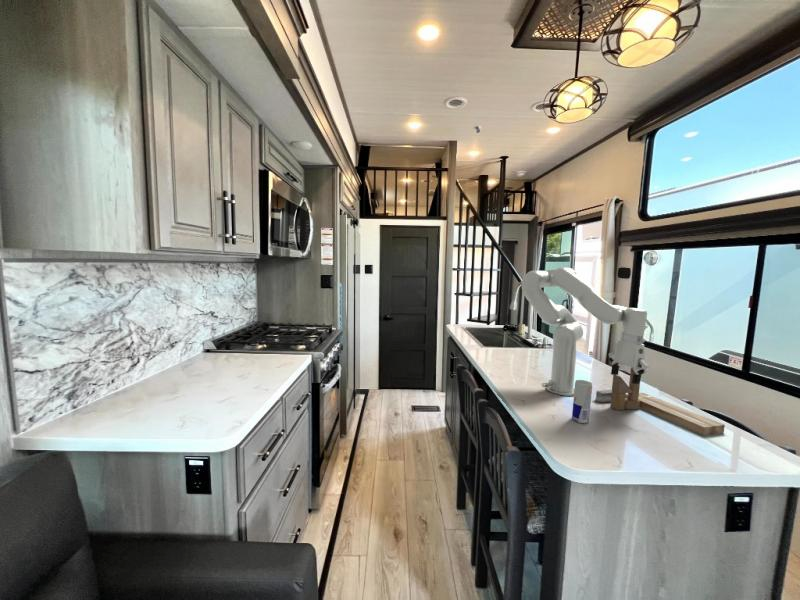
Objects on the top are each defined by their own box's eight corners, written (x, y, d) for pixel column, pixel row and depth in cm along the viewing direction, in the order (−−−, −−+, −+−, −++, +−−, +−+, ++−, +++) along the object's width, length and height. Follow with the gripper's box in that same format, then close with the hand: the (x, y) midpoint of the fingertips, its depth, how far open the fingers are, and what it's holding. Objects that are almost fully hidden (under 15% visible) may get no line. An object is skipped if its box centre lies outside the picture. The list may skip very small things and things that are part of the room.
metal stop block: (601, 402, 140) (602, 393, 140) (595, 399, 143) (596, 390, 143) (620, 400, 143) (620, 391, 142) (613, 398, 146) (614, 389, 145)
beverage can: (587, 418, 124) (590, 380, 123) (590, 425, 119) (594, 385, 117) (570, 416, 126) (574, 378, 124) (573, 422, 121) (576, 383, 119)
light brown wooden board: (703, 435, 114) (704, 427, 114) (624, 400, 143) (625, 394, 143) (723, 432, 117) (724, 424, 116) (642, 399, 145) (643, 392, 145)
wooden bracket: (609, 406, 136) (614, 364, 134) (632, 405, 138) (636, 364, 136) (617, 410, 133) (621, 367, 131) (639, 409, 134) (644, 367, 133)
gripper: (659, 344, 125) (652, 386, 127) (619, 333, 142) (613, 371, 144) (644, 344, 123) (637, 387, 125) (605, 333, 140) (599, 371, 142)
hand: (624, 378), depth 135 cm, fingers open, 9 cm apart
